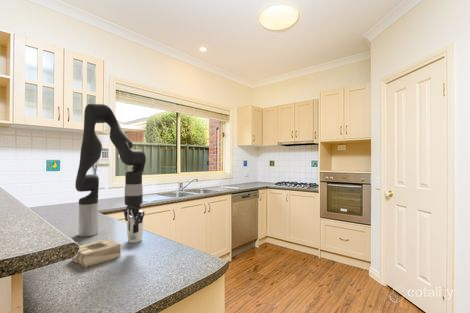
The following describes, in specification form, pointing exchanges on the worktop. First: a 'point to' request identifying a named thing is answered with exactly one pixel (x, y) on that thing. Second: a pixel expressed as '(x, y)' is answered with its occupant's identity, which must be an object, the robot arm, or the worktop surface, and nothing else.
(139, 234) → the white cup
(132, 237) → the steel pin
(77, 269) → the worktop surface
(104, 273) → the worktop surface
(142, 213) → the robot arm
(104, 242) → the wooden peg hole block
